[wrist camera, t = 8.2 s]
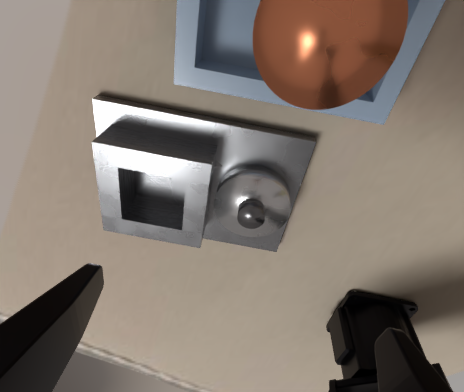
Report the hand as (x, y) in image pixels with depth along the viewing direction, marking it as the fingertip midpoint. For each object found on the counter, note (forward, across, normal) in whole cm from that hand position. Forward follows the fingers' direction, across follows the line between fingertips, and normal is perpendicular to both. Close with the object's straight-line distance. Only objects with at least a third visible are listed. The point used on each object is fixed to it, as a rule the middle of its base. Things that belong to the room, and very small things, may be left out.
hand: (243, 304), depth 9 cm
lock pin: (+12, 0, -7) cm, 14 cm away
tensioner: (+13, +3, +4) cm, 14 cm away
